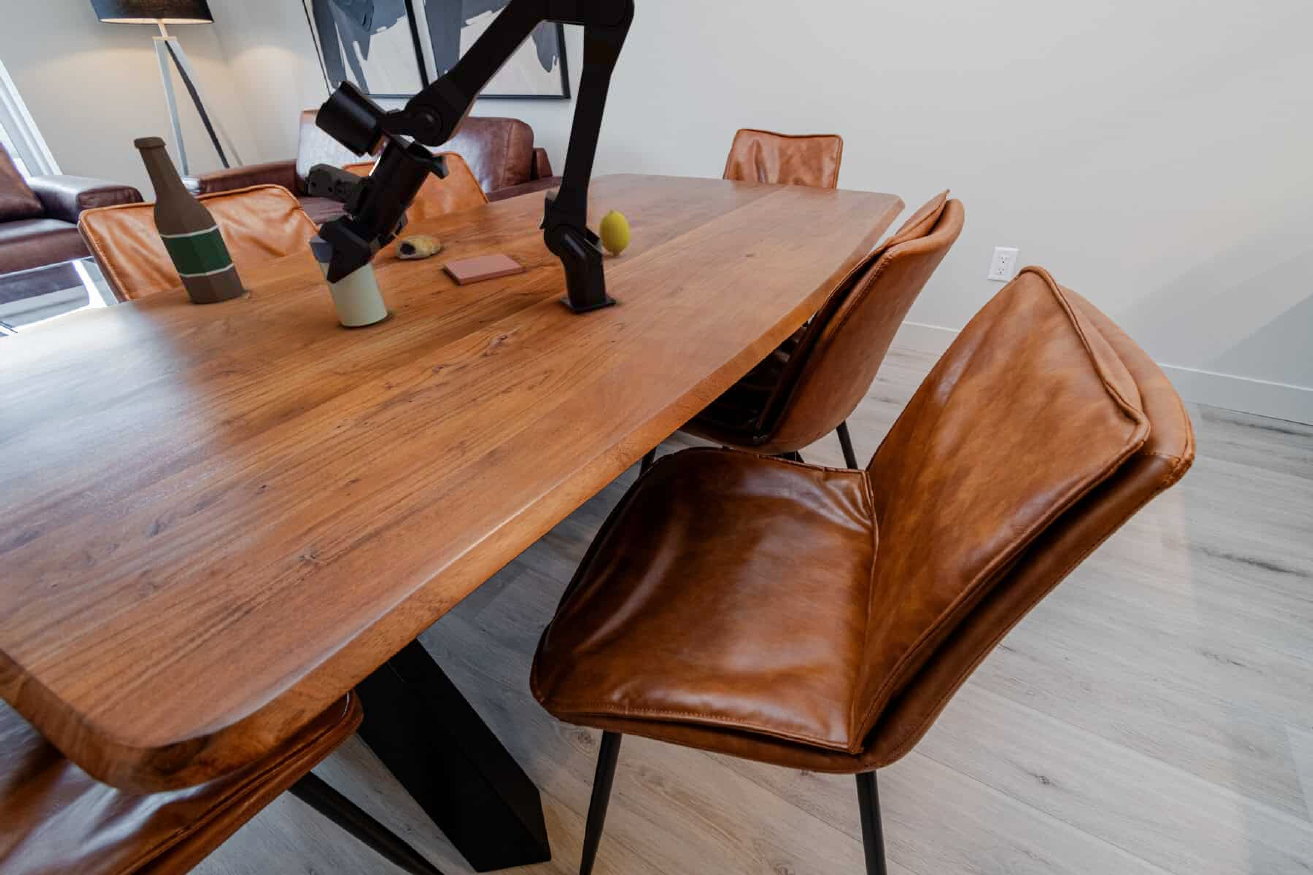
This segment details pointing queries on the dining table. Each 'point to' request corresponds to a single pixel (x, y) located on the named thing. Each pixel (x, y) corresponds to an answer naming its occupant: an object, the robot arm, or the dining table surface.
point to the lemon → (614, 232)
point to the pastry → (417, 246)
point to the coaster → (482, 268)
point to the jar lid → (320, 249)
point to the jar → (357, 296)
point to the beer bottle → (188, 230)
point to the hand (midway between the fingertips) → (339, 274)
